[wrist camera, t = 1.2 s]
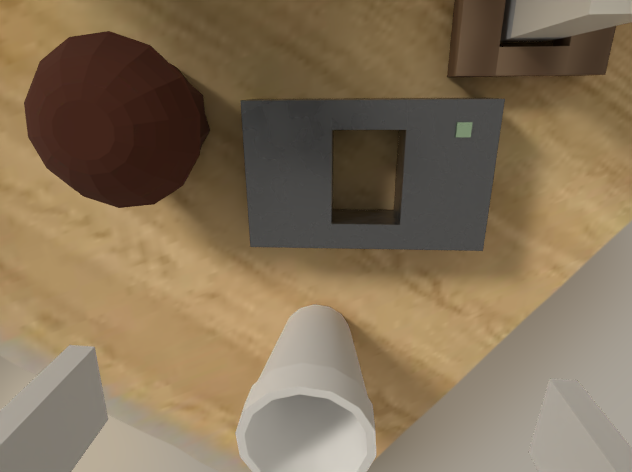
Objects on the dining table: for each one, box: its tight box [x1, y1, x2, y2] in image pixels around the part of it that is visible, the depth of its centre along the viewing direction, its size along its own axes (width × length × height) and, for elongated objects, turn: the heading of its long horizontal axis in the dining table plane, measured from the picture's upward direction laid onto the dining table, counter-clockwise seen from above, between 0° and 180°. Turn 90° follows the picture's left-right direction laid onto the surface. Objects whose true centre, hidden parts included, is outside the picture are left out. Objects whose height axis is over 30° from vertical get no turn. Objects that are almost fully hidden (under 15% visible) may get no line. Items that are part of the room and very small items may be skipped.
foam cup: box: [236, 304, 376, 472], centre depth 33 cm, size 10×9×13 cm
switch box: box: [241, 98, 505, 251], centre depth 31 cm, size 18×11×4 cm, turn 90°
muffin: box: [24, 31, 210, 208], centre depth 28 cm, size 12×11×10 cm
